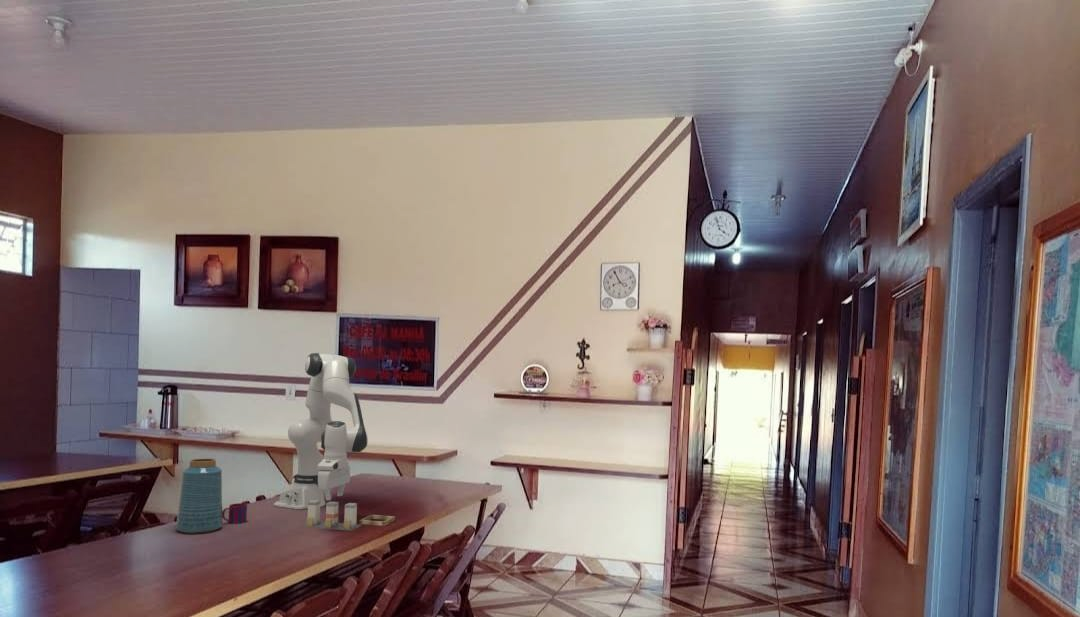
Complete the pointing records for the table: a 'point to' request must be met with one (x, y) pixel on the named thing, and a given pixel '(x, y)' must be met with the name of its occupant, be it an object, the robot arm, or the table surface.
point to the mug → (236, 513)
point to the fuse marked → (332, 512)
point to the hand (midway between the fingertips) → (334, 498)
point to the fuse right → (351, 514)
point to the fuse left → (314, 511)
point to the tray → (387, 520)
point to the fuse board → (330, 525)
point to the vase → (200, 497)
